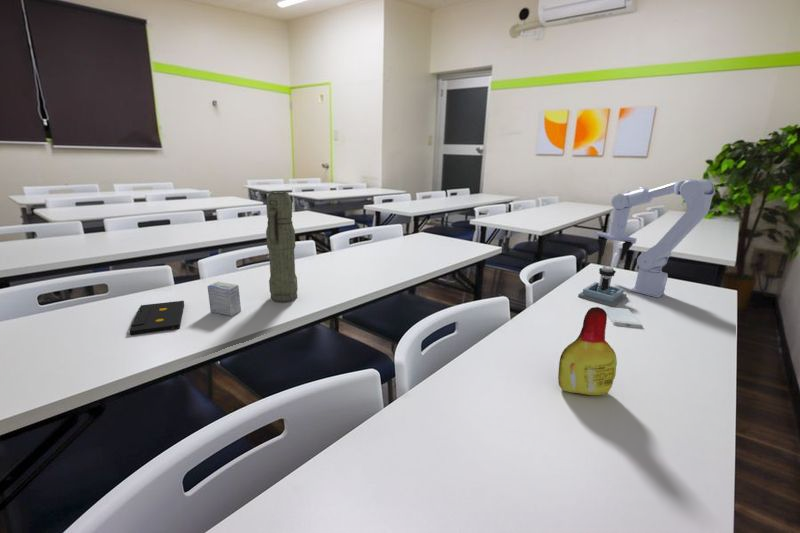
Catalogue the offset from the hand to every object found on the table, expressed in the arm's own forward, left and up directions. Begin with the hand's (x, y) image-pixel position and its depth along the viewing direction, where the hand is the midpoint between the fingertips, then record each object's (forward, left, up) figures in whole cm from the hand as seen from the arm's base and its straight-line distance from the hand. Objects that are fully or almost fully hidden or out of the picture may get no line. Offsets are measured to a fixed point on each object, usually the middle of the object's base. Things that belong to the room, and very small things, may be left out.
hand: (611, 257), depth 162 cm
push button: (-6, +22, -9) cm, 24 cm away
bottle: (-24, +88, -10) cm, 92 cm away
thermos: (+66, +110, -10) cm, 129 cm away
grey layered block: (+67, +129, -10) cm, 146 cm away
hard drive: (-17, +38, -10) cm, 43 cm away
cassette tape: (+74, +145, -10) cm, 163 cm away
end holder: (-6, +23, -9) cm, 26 cm away
